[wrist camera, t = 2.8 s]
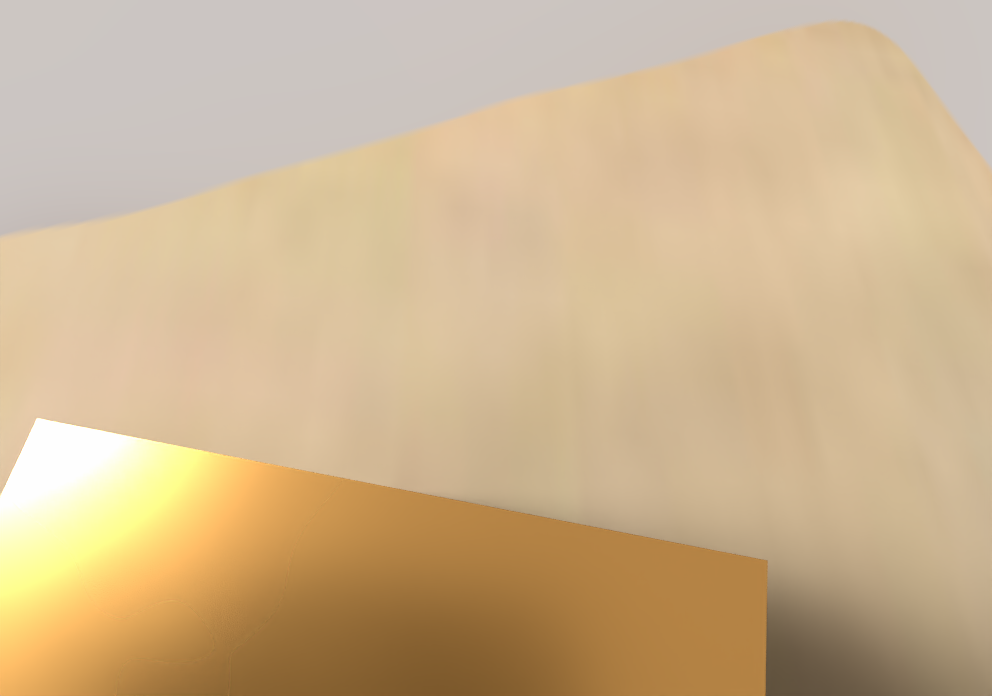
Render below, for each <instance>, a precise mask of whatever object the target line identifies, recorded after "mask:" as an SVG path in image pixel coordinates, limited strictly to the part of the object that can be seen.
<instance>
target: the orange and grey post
mask: <svg viewBox="0 0 992 696" xmlns="http://www.w3.org/2000/svg"><path fill="white" fill-rule="evenodd" d="M766 627H767V560H761V559H756V558H751V557H746V556H741V555H736V554H731V553H725V552H720V551H715V550H710V549H705V548H700V547H695V546H689V545H684V544H679V543H674V542H669V541H664V540H658V539H653V538H648V537H643V536H638V535H633V534H628V533H622V532H617V531H612V530H607V529H602V528H597V527H592V526H586V525H581V524H576V523H571V522H566V521H561V520H556V519H550V518H545V517H540V516H535V515H530V514H525V513H520V512H514V511H509V510H504V509H499V508H494V507H489V506H484V505H478V504H473V503H468V502H463V501H458V500H453V499H447V498H442V497H437V496H432V495H427V494H422V493H417V492H411V491H406V490H401V489H396V488H391V487H386V486H381V485H375V484H370V483H365V482H360V481H355V480H350V479H345V478H339V477H334V476H329V475H324V474H319V473H314V472H309V471H303V470H298V469H293V468H288V467H283V466H278V465H272V464H267V463H262V462H257V461H252V460H247V459H242V458H236V457H231V456H226V455H221V454H216V453H211V452H206V451H200V450H195V449H190V448H185V447H180V446H175V445H170V444H164V443H159V442H154V441H149V440H144V439H139V438H134V437H128V436H123V435H118V434H113V433H108V432H103V431H98V430H92V429H87V428H82V427H77V426H72V425H67V424H61V423H56V422H51V421H46V420H41V419H37V421H36V423H35V425H34V427H33V429H32V431H31V433H30V436H29V438H28V440H27V442H26V444H25V446H24V448H23V450H22V453H21V455H20V457H19V459H18V461H17V463H16V465H15V467H14V469H13V472H12V474H11V476H10V478H9V480H8V482H7V484H6V486H5V489H4V491H3V493H2V495H1V497H0V696H765V694H766Z"/></svg>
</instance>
